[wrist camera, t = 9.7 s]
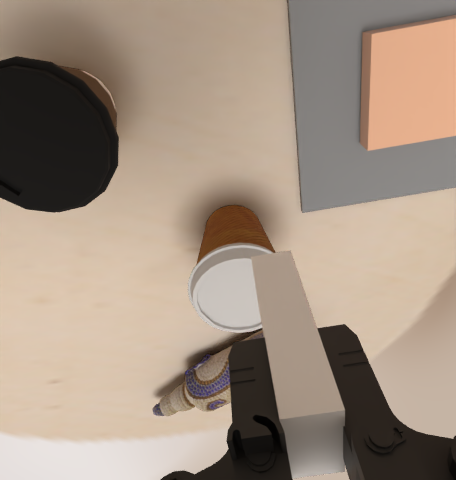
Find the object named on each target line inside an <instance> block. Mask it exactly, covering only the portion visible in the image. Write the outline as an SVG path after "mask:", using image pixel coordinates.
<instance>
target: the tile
mask: <svg viewBox="0 0 456 480" xmlns="http://www.w3.org/2000/svg"><path fill="white" fill-rule="evenodd" d="M452 136H456V15H452V16H447V17H441V18H436V19H431V20H425V21H420V22H414V23H409V24H403V25H398V26H393V27H387V28H382V29H376V30H371V31H365V32H363V33H362V75H361V118H360V144H361V145H362V146H363V147H364V148H365V149H366V150H367V151H370V150H376V149H382V148H387V147H393V146H399V145H405V144H411V143H417V142H422V141H428V140H434V139H440V138H446V137H452Z"/></svg>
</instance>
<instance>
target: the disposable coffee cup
mask: <svg viewBox="0 0 456 480" xmlns="http://www.w3.org/2000/svg"><path fill="white" fill-rule="evenodd" d="M271 253H276V252H275V250H274V249H273V247H272V245H271V243H270V241H269V239H268V237H267V235H266V233H265V231H264V229H263V227H262V226H261V224H260V222H259V220H258V218H257V216H256V215H255V214H254V213H253V212H252V211H251V210H249V209H247V208H245V207H242V206H238V205H230V206H225V207H222V208H220V209H218V210H216V211H215V212H214V213H213V214H212V215H211V216H210V217H209V219H208V221H207V224H206V228H205V232H204V236H203V240H202V244H201V248H200V252H199V256H198V261H197V265H196V266H195V267H194V269H193V270H192V273H191V275H190V278H189V282H188V295H189V299H190V301H191V303H192V305H193V307H194V308H195V310H196V312H197V313H198V315H199V316H200V317H201V319H202V320H203V321H205V322H206V323H207V324H209V325H210V326H212V327H214V328H217V329H219V330H222V331H228V332H234V333H242V332H250V331H254V330H257V329H260V328H262V323H261V318H260V312H259V306H258V299H257V293H256V287H255V280H254V274H253V268H252V261H251V257H253V256H259V255H265V254H271Z"/></svg>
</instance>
